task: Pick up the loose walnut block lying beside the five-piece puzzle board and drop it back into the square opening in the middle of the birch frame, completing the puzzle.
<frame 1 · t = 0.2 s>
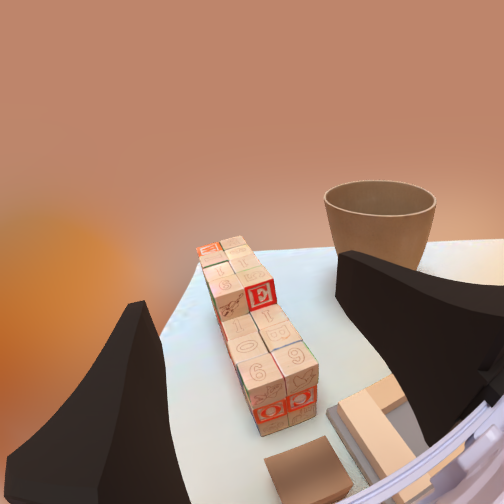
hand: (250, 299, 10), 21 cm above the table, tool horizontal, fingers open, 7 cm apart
plant pot: (375, 296, 40), on the table
puzzle board: (416, 430, 20), on the table
walnut block: (307, 488, 18), on the table
stack of blocks: (257, 361, 34), on the table
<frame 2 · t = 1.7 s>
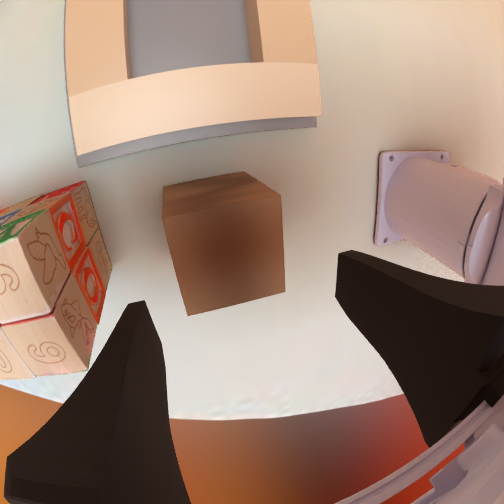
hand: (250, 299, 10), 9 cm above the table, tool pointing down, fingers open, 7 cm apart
puzzle board: (186, 29, 12), on the table
walnut block: (209, 216, 18), on the table
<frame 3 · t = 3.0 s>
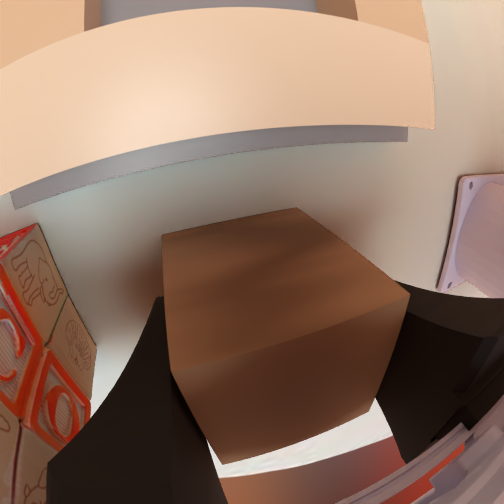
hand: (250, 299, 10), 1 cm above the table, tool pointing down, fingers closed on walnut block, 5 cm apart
walnut block: (239, 279, 11), on the table, touching gripper
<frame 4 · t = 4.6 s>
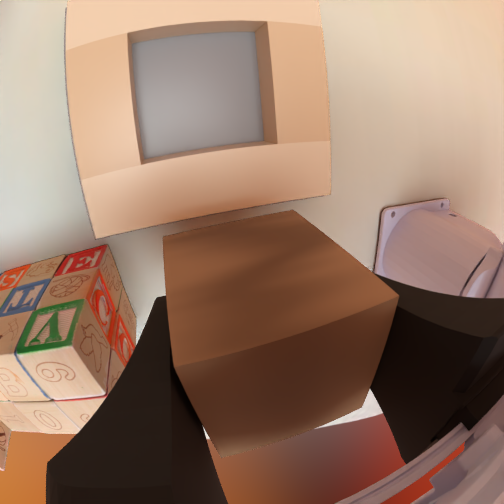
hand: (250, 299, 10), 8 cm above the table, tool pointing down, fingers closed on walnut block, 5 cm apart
puzzle board: (196, 91, 14), on the table
walnut block: (237, 279, 12), point 7 cm above the table, touching gripper
stack of blocks: (9, 307, 15), on the table
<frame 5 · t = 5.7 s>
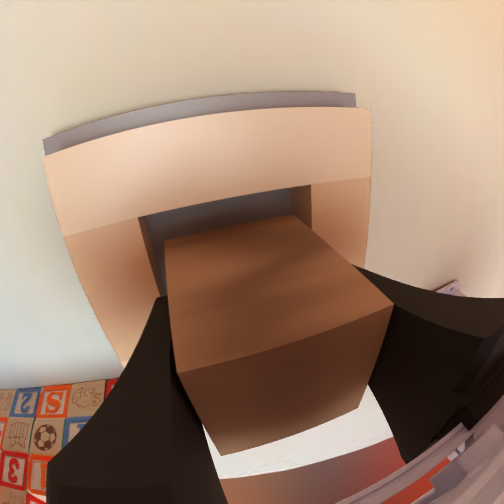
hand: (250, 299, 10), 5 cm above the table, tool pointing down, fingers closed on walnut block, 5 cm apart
puzzle board: (222, 243, 14), on the table
walnut block: (237, 281, 12), point 3 cm above the table, touching gripper
stack of blocks: (49, 406, 16), on the table
when the fingers open (4 cm above the table, at t = 6.3 s): walnut block drops 1 cm, resting on puzzle board.
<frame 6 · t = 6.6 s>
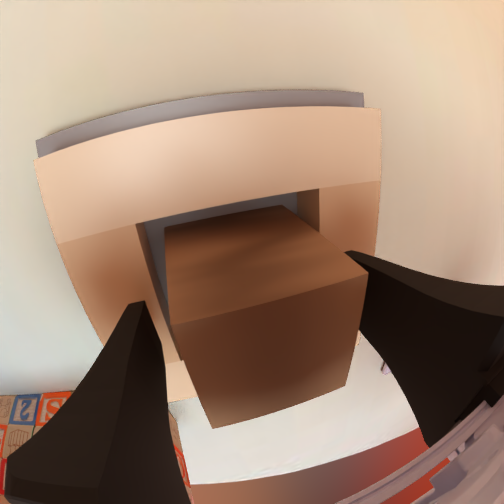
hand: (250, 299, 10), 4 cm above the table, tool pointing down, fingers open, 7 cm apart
puzzle board: (224, 249, 14), on the table
walnut block: (231, 267, 13), point 1 cm above the table, touching puzzle board
stack of blocks: (49, 412, 15), on the table
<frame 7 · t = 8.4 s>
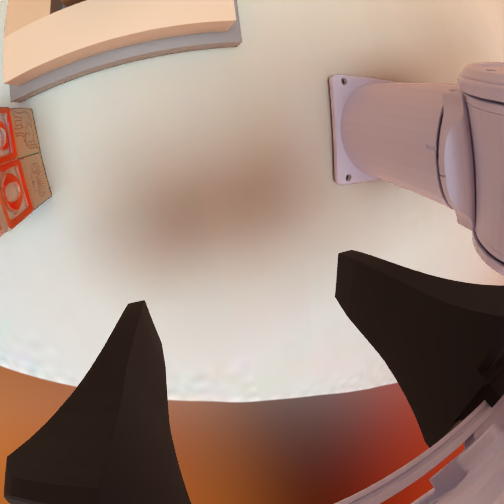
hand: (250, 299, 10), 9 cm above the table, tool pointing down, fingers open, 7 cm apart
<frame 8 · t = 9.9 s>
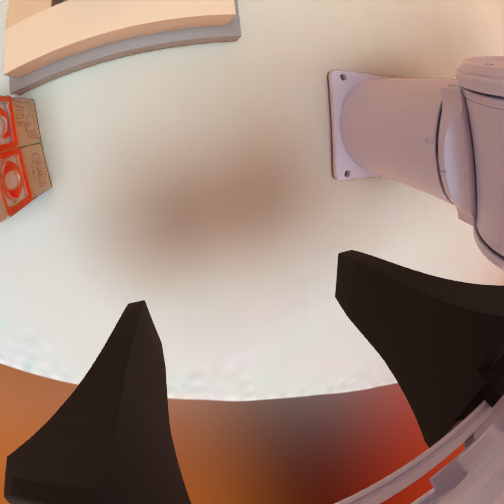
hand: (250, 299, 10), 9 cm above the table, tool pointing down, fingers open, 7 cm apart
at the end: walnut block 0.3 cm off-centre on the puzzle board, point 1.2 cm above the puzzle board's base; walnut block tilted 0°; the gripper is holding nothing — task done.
